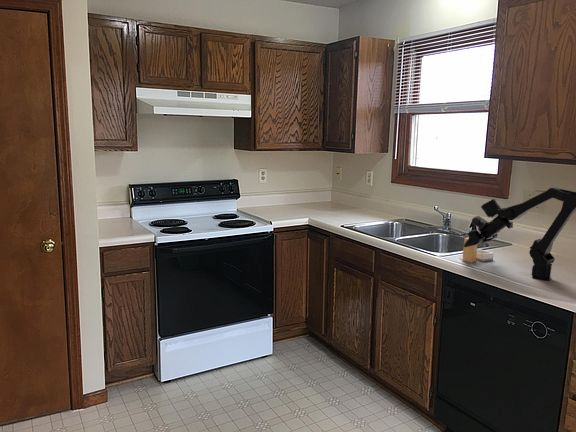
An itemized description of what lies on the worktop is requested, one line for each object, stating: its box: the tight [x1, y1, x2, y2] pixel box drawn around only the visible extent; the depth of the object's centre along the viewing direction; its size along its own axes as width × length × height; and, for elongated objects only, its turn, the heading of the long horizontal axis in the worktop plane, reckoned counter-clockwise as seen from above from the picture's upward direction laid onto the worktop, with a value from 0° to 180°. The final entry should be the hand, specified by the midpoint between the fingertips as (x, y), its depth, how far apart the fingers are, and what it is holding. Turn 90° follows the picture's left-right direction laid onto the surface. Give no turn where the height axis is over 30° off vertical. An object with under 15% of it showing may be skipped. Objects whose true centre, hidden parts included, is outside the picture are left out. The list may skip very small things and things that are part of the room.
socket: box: [476, 249, 494, 263], centre depth 227 cm, size 7×7×4 cm
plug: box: [462, 237, 479, 263], centre depth 222 cm, size 4×4×12 cm
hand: (469, 245), depth 223 cm, fingers open, 9 cm apart
